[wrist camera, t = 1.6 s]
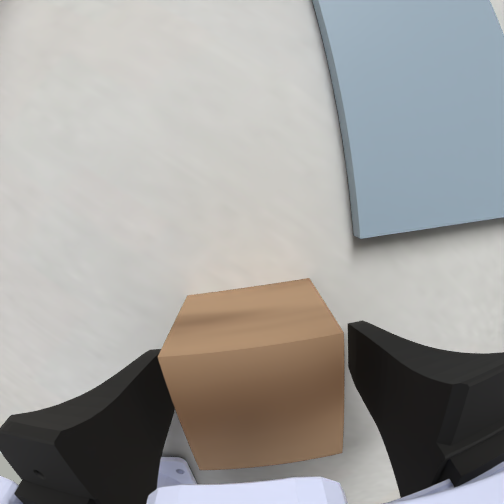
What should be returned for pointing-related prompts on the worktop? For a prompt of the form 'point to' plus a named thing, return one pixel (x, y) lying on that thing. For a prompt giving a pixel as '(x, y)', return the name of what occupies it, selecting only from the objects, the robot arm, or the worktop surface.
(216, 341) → the walnut cube
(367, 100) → the slate board
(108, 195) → the worktop surface
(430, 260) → the worktop surface
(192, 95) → the worktop surface
